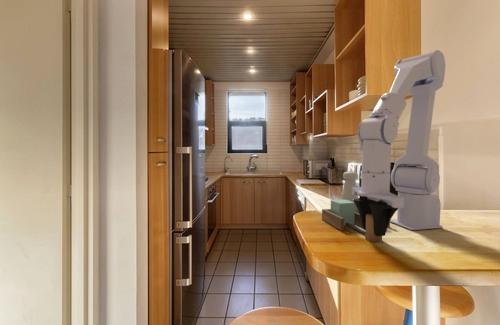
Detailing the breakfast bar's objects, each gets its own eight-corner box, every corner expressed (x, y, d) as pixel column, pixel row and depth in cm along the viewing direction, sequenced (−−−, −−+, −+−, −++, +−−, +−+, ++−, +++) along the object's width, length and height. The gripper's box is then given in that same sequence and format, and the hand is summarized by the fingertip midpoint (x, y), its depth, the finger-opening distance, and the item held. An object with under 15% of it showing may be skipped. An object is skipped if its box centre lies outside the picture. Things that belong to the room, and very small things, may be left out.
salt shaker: (361, 216, 79) (362, 173, 79) (341, 215, 80) (342, 172, 80) (357, 211, 85) (358, 171, 84) (338, 210, 86) (339, 170, 85)
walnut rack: (365, 217, 78) (365, 207, 78) (389, 227, 68) (390, 215, 68) (321, 219, 75) (322, 209, 75) (340, 230, 66) (341, 218, 65)
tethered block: (344, 220, 74) (345, 199, 74) (387, 241, 58) (388, 214, 58) (330, 221, 74) (330, 200, 73) (369, 243, 57) (370, 215, 57)
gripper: (341, 169, 65) (340, 224, 65) (382, 176, 50) (380, 245, 51) (366, 169, 66) (365, 222, 67) (414, 175, 52) (411, 243, 53)
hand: (373, 232), depth 59 cm, fingers closed on tethered block, 3 cm apart
